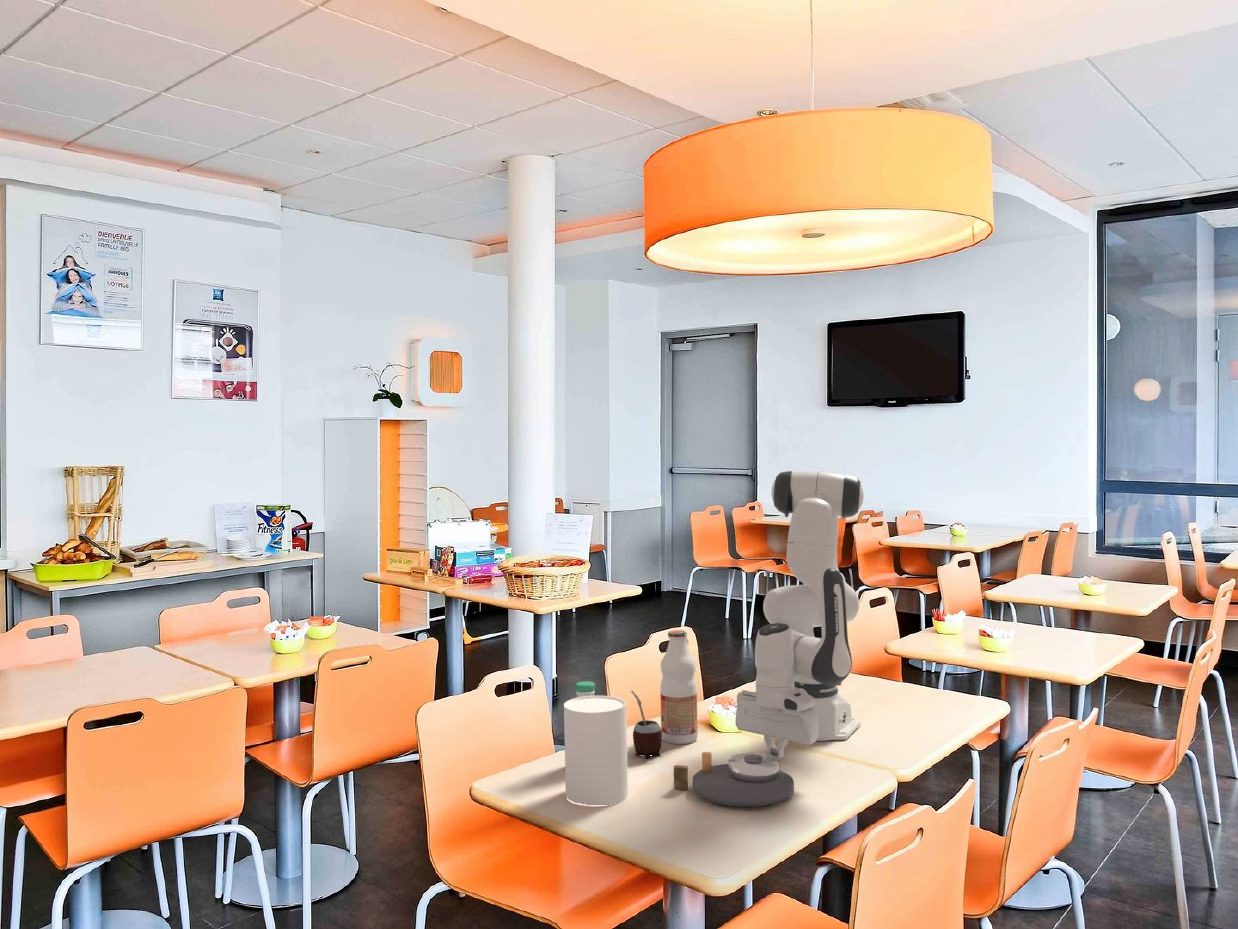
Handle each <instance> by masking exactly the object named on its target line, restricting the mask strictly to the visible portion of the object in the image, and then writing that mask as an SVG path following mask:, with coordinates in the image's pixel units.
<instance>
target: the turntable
mask: <svg viewBox="0 0 1238 929" xmlns="http://www.w3.org/2000/svg"><path fill="white" fill-rule="evenodd" d="M712 762H713V761H712V752H710V751H703V752H701V769H700V770H699V771H698V770H697V772H695V773H694V775H693V776H692V778H691V783H692V784H691V785H692V786H691V787H692V790H693V792H694V793H695V794H696V795H697V796H699V797H700V798H702V799H704V800H707V801H709V802H712V803H716V804H720V805H725V806H735V807H758V806H759V807H760V806H761V807H762V806H767V805H772V804H776V803H777V804H778V803H780V802H783V801H785V800H787V799H788V798H790V797H791V796H793V794H794V792H795V780H794V778H793V777H792V776H791V774H788V773H787V772H785V771H784V770H781V769H779V777H778V778H777V779H776V780H774V781H771V782H766V783H746V782H741V781H737V780H735V779H733V778H731V777H730V776H729V763H721V764H715V765H713V763H712Z"/></svg>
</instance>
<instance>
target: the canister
mask: <svg viewBox="0 0 1238 929" xmlns="http://www.w3.org/2000/svg"><path fill="white" fill-rule="evenodd" d="M563 720H564V721H563V726H564V765H565V766H564V767H565V768H564V769H565V771H564V773H565V798H566V797H567V798H568V799H569V800H571V801H573V802H575V803H581V804H586V805H610V804H614V803H618V804H619V803H622V802H624V801H625V800H626V799H627V798H628V797H629V796H628V795H629V789H628V788H629V785H628V779H629V778H628V738H627V737H628V734H627V732H628V730H627V702H626V700H624V699H623V698H620V697H616V696H612V695H611V696H610V695H594V696H584V697H578V698H576V697H575V698H571V699H568V700H567V701H565V702H564V703H563ZM626 797H627V798H626ZM623 800H624V801H623ZM610 806H611V805H610Z"/></svg>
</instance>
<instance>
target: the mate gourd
mask: <svg viewBox="0 0 1238 929" xmlns="http://www.w3.org/2000/svg"><path fill="white" fill-rule="evenodd" d="M630 692H631V694H633V696H634V697H635V699H636V701H637V706H638V707H639V712H640V715H641V718H642V720H639V721H637V722H636V724H635V725H634V728H633V732H632V740H633V747H634V749H635V753H634V756H635V755H645V756H644V760H645V761H648V760H649V758H650V757H656V756H660V757H661V749H662V748H661V747H662V743H663V742H662V741H663V739H662V732H661V725H660V724H659V723H658V722H657V721H656V720H655V721H654V720H651V719H650V720H647V719H645V718H646V717H645V715H644V711H643V706H642V701H641V700H640V699H639V697H638V695H637V694H636V693H635V691H634V690H631V691H630ZM650 755H652V756H650Z"/></svg>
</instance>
